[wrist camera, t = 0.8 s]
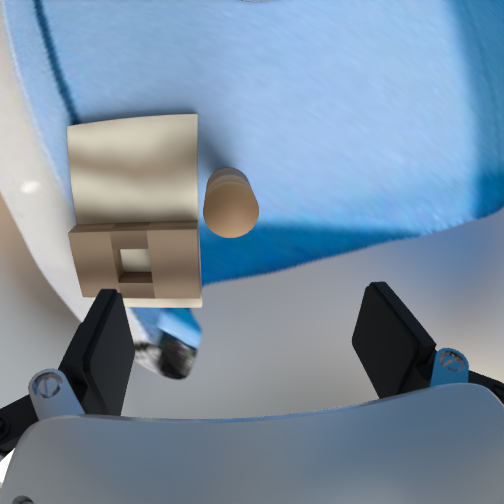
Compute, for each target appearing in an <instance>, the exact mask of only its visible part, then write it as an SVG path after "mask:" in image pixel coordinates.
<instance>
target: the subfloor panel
mask: <svg viewBox="0 0 504 504" xmlns="http://www.w3.org/2000/svg"><path fill="white" fill-rule="evenodd" d="M67 137H68V153H69V166H70V176H71V185H72V193H73V201H74V208H75V215H76V221H77V225H76V226H75V227H74V228H73V229H72V230H71V231H70V232H69V233H68V235H69V240H70V245H71V250H72V255H73V259H74V264H75V268H76V272H77V276H78V280H79V284H80V288H81V291H82V295H83V297H93V300H95V299H96V297H97V295H98V293H99V291H100V290H101V289H116V290H117V292H118V293H121V294H122V297H123V302H124V306H125V307H202V302H203V301H202V284H201V264H200V239H199V204H198V114H178V115H160V116H146V117H134V118H124V119H115V120H107V121H99V122H92V123H85V124H79V125H73V126H67Z"/></svg>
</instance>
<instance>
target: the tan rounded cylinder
mask: <svg viewBox="0 0 504 504" xmlns="http://www.w3.org/2000/svg"><path fill="white" fill-rule="evenodd" d="M203 216H204V220H205V223H206V224H207V226H208V227H209V229H210V230H211V231H213V232H214V233H215V234H217V235H219V236H222V237H226V238H235V237H239V236H242V235H244V234H246V233H247V232H249V231H250V230H251V229H252V228H253V227H254V225H255V224H256V222H257V219H258V216H259V207H258V203H257V200H256V198H255V195H254V193H253V191H252V188H251V186H250V184H249V181H248V179H247V177H246V176H245V175H244V174H243V173H242V172H241V171H239V170H238V169H235V168H229V167H227V168H222V169H219V170H217V171H216V172H214V173H213V174H212V175H211V176H210V178H209V180H208V182H207V187H206V194H205V200H204V207H203Z"/></svg>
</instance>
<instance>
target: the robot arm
mask: <svg viewBox="0 0 504 504" xmlns="http://www.w3.org/2000/svg"><path fill="white" fill-rule="evenodd" d="M242 1H250V2H269V1H275V0H242ZM352 345H353V347H354V349H355V351H356V353H357V355H358V357H359V359H360V361H361V363H362V365H363V367H364V369H365V371H366V373H367V375H368V377H369V378H370V380H371V382H372V384H373V387H374V388H375V391H376V392H377V395H378V396H379V399H378V400H373V401H368V402H363V403H359V404H354V405H348V406H342V407H336V408H330V409H324V410H317V411H311V412H303V413H295V414H286V415H276V416H264V417H251V418H232V419H162V418H139V417H125V416H120V415H121V411H122V406H123V402H124V397H125V392H126V388H127V384H128V380H129V375H130V372H131V367H132V363H133V360H134V356H135V347H134V343H133V339H132V335H131V331H130V327H129V323H128V319H127V315H126V311H125V306H124V302H123V297H122V294H121V293H118V292H117V290H116V289H101V290H100V291H99V293H98V295H97V297H96V299H95V300H94V302H93V304H92V306H91V308H90V310H89V312H88V314H87V315H86V317H85V319H84V321H83V322H82V323H81V324H80V325H79V327H78V329H77V331H76V333H75V335H74V337H73V339H72V341H71V343H70V345H69V347H68V349H67V351H66V353H65V355H64V357H63V360H62V361H61V364H60V366H59V368H58V370H57V369H45V370H42V371H40V372H38V373H36V374H35V375H34V376H33V377H32V379H31V381H30V382H29V386H28V390H29V394H28V395H26V396H25V397H23V398H21V399H19V400H17V401H15V402H13V403H11V404H9V405H7V406H5V407H3V408H1V409H0V504H504V384H503V383H502V382H500V381H497V380H494V379H491V378H489V377H486V376H484V375H480V374H478V373H475V372H473V371H470V370H469V364H468V361H467V359H466V357H465V356H464V355H463V354H462V353H460V352H459V351H457V350H455V349H451V348H443V349H441V350H439V351H438V352H437V351H436V350H435V347H436V343H435V342H434V341H433V339H432V338H431V337H430V336H429V334H428V333H427V332H426V330H425V329H424V328H423V326H422V325H421V324H420V323H419V322H418V320H417V319H416V318H415V317H414V316H413V314H412V313H411V312H410V310H409V309H408V308H407V307H406V306H405V304H404V303H403V302H402V301H401V300H400V299H399V297H398V296H397V295H396V294H395V293H394V291H393V290H392V289H391V288H390V287H389V286H388V284H387V283H386V282H372V283H370V285H369V286H367V287H366V289H365V292H364V296H363V300H362V304H361V308H360V312H359V316H358V319H357V323H356V326H355V330H354V333H353V337H352Z"/></svg>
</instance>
